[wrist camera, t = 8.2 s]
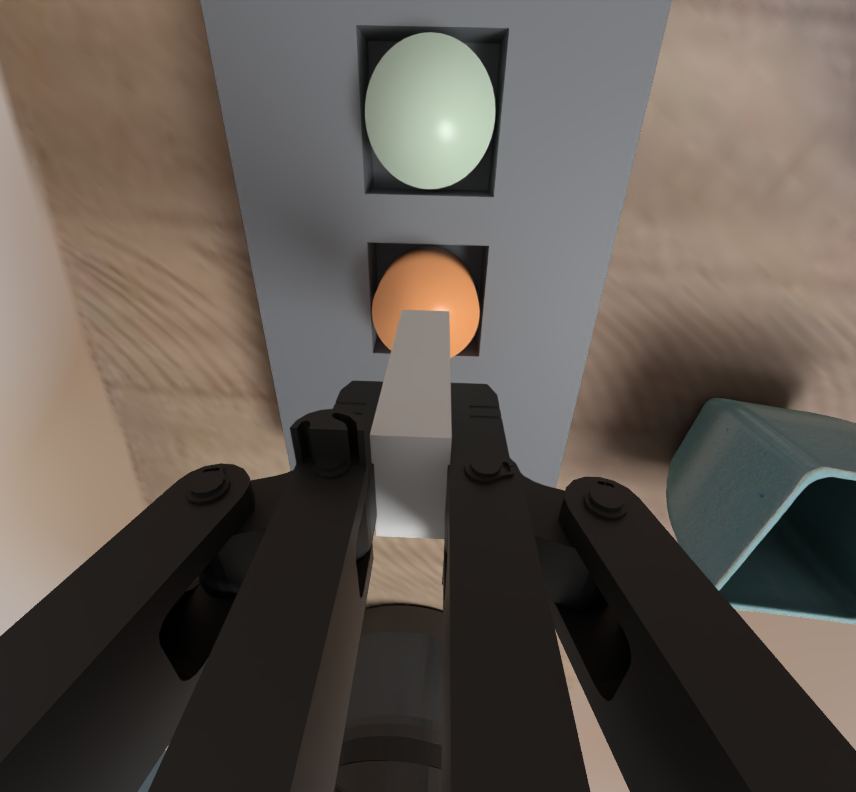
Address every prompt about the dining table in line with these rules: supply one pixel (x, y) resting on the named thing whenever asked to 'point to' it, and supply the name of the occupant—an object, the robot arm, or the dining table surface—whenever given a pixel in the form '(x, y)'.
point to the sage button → (430, 110)
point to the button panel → (435, 190)
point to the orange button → (427, 294)
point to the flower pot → (769, 508)
